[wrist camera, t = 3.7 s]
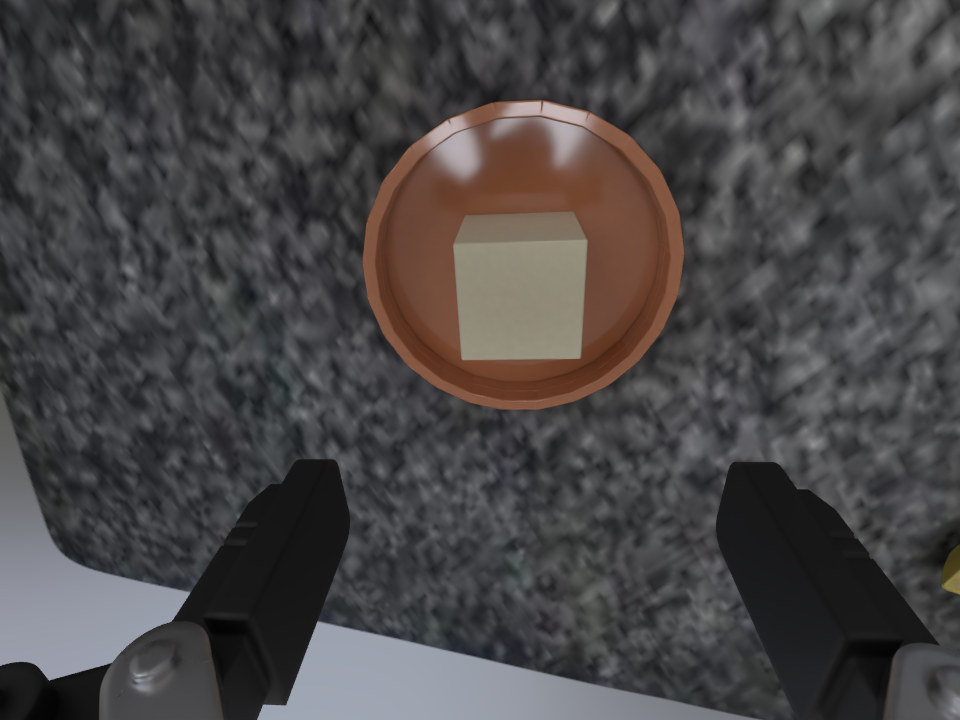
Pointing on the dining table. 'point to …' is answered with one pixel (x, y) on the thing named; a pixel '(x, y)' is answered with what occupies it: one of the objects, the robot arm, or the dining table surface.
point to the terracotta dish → (524, 189)
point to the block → (520, 286)
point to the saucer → (952, 571)
